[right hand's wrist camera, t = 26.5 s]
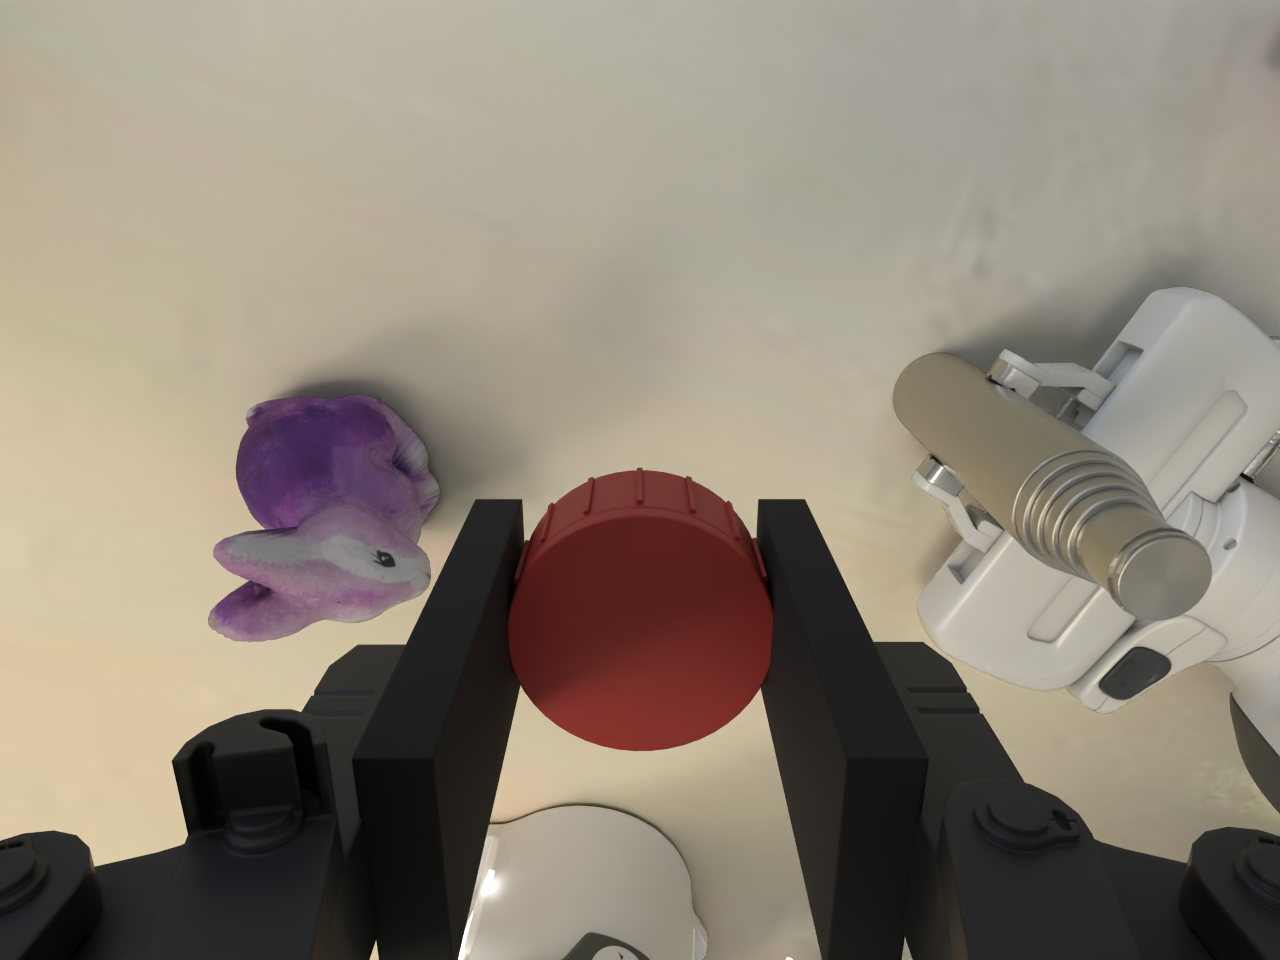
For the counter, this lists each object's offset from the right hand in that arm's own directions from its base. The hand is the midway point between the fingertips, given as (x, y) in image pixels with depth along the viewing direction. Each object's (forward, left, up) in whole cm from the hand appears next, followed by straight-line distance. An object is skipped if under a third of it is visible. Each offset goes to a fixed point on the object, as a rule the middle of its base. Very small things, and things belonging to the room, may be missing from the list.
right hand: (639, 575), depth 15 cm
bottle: (+12, -11, -33) cm, 37 cm away
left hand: (+12, -10, -27) cm, 31 cm away
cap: (0, 0, +2) cm, 2 cm away
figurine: (-18, -3, -33) cm, 37 cm away
